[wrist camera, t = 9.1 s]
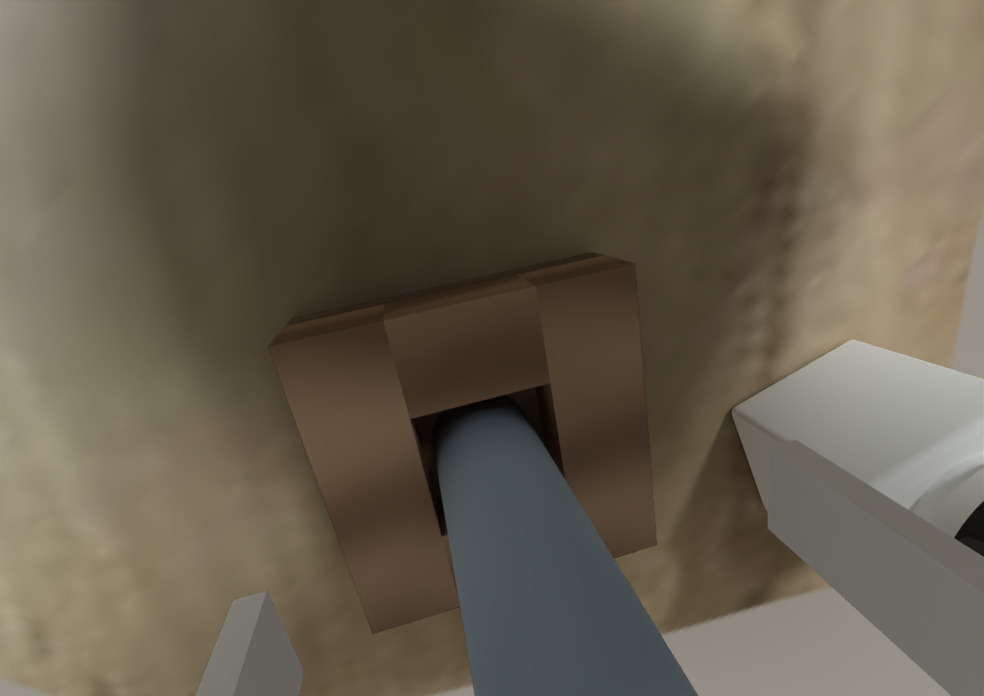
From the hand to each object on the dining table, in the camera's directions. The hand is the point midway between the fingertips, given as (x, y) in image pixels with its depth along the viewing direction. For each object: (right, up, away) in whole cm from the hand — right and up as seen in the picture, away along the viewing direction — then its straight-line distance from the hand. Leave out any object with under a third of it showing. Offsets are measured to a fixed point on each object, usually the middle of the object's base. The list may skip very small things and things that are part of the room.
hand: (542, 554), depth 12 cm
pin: (-2, +2, +7) cm, 8 cm away
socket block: (-2, +2, +8) cm, 9 cm away
